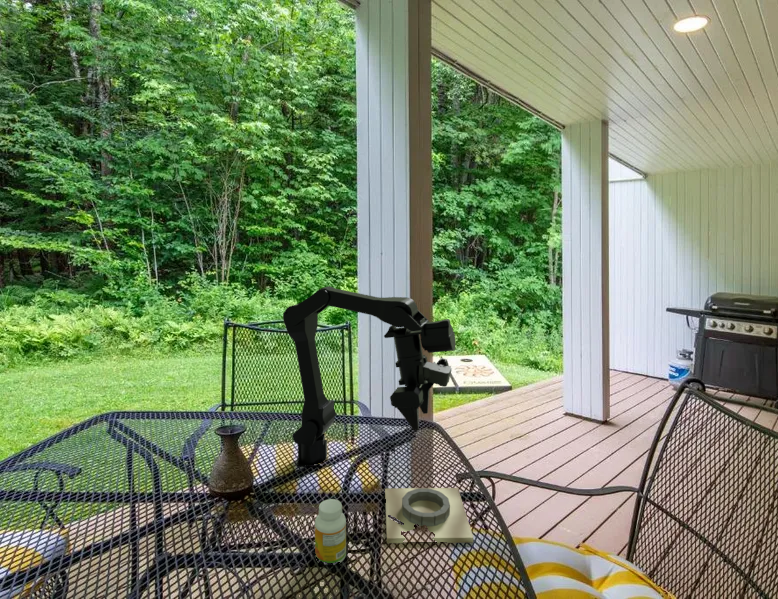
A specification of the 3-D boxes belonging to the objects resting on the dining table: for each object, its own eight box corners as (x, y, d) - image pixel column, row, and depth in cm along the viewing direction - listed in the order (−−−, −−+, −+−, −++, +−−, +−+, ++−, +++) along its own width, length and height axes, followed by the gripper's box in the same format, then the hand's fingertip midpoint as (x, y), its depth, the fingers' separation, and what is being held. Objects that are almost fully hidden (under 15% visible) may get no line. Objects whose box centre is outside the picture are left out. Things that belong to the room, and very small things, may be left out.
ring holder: (386, 543, 83) (387, 528, 82) (385, 492, 98) (385, 480, 98) (473, 542, 83) (473, 527, 83) (457, 492, 99) (458, 479, 98)
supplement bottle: (316, 545, 82) (315, 497, 80) (346, 544, 82) (346, 495, 81) (314, 568, 76) (313, 516, 75) (345, 566, 77) (345, 514, 75)
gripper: (436, 363, 88) (449, 438, 90) (452, 340, 106) (462, 404, 108) (383, 368, 92) (396, 440, 94) (407, 345, 110) (417, 406, 111)
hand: (421, 421), depth 101 cm, fingers open, 9 cm apart
